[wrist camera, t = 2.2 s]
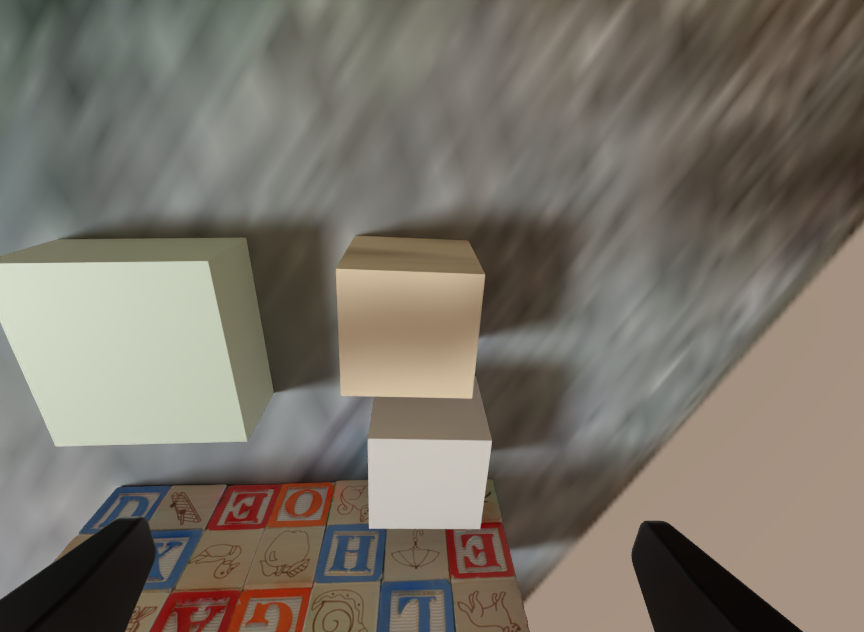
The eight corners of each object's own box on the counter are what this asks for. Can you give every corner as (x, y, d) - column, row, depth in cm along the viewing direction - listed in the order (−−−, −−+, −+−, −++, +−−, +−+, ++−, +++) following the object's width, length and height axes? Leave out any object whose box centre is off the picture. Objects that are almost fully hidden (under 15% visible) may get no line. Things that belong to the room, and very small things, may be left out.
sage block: (275, 389, 22) (247, 441, 18) (117, 393, 22) (55, 446, 18) (248, 236, 19) (207, 261, 15) (62, 237, 18) (-27, 263, 15)
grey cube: (467, 452, 24) (480, 529, 19) (377, 450, 23) (368, 528, 19) (475, 375, 22) (492, 440, 17) (377, 373, 21) (367, 438, 17)
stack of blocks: (146, 559, 26) (-59, 884, 15) (117, 482, 24) (-155, 802, 12) (489, 550, 27) (542, 851, 16) (495, 475, 24) (565, 768, 13)
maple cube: (459, 340, 21) (472, 398, 16) (357, 337, 21) (340, 395, 16) (468, 240, 19) (485, 274, 14) (355, 235, 19) (335, 268, 14)
